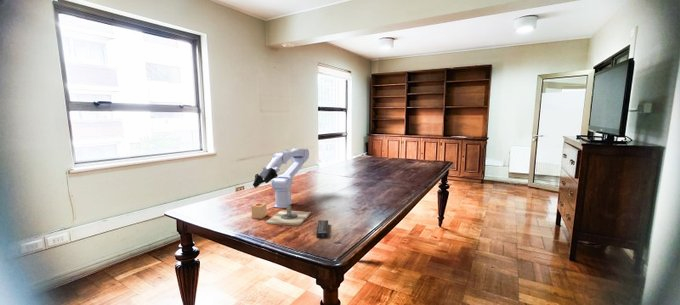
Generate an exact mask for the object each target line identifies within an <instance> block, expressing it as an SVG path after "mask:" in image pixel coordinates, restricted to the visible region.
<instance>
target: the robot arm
mask: <svg viewBox="0 0 680 305" xmlns="http://www.w3.org/2000/svg"><path fill="white" fill-rule="evenodd" d="M309 156H310V150H309V149H308V148H296V147H293V148H292V149H290V150H289V149H284V151H283V150H282V151H280V152H276V153H273V155H272V158H271V161H270V162H269V163H268V164H267V165H266V166H263V167H262V168H261V169H262V171H261V172H260V173H256V174H255V175H254V181H253V183H252V186H253V187H254V189H257V188H258V187H259V186H260V185H261V184H264V183H265V184H268V183H269V182H271V183H270V184H271V188H272V189H273V191H274V195H275V197H274V199H275V204H274V205H273V206H272V208H281V209H287V206H292V204H293V201H292V191H291V190H290V189H291V188H292V185H293V184H294V183H293V178H294V177H295V176H296V175H297V173H298V172H299V171H300V170H301V169H302V167H304V166H303V165H304V164H305V163H306V162H307V161H308V159H309V158H310V157H309ZM289 161H291V163H292V164H291V165H290V166H289V167H288V169H286V170H285V171H284V173H283V174H280V175H278V173H279V172H280V168H281V167H282V166H283V165H285V164H286V165H287V164H288V162H289Z"/></svg>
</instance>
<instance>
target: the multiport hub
mask: <svg viewBox="0 0 680 305" xmlns="http://www.w3.org/2000/svg"><path fill="white" fill-rule="evenodd" d="M316 227H317V228H316V233H315V234H316V236H315V237H316V239H327V238H328V236H329V235H328V232H329V220H325V219H324V220H318V221H317V226H316Z"/></svg>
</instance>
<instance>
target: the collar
mask: <svg viewBox="0 0 680 305" xmlns="http://www.w3.org/2000/svg"><path fill="white" fill-rule="evenodd" d="M250 209H251V218H252V219H261V220H262V219H263V218H265V217H266V216H267V215H268V211H267V210H268V209H267V203H266V202H264V203H263V202H256V203H254V204H253V205H251V208H250Z"/></svg>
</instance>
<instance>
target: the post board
mask: <svg viewBox="0 0 680 305" xmlns="http://www.w3.org/2000/svg"><path fill="white" fill-rule="evenodd" d="M310 215H311V211H300V210H299V211H298V210H292V205H289V206H287V208H286V210H284V209H281V210H279V211H278V212H277V213H275V214H274V215H272V216H271V217H270V218H269V219H268V220H266V224H270V225H282V226H283V225H284V226H293V227H299V226H300V225H301V224H302V223H304V221H306V219H307V218H309V216H310Z"/></svg>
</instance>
